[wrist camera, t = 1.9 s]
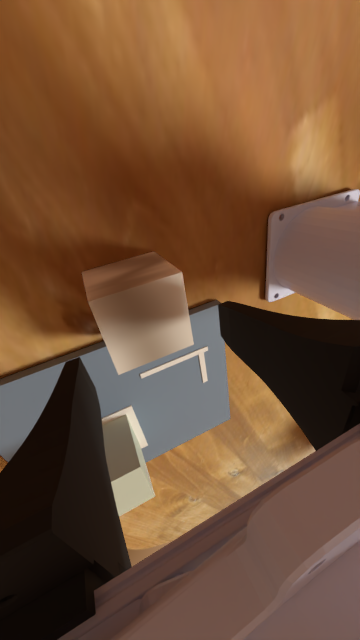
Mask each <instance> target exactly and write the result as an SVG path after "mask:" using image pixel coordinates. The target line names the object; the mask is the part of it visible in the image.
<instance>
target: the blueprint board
mask: <svg viewBox="0 0 360 640" xmlns="http://www.w3.org/2000/svg"><path fill="white" fill-rule="evenodd" d="M219 304H221V303H220V302H219V301H218V300H215V301H212V302H209V303H206V304H204V305H201V306H198V307H196V308H193V309H190V310H188V311H189V317H190V323H191V330H192V336H193V342H194V345H191V346H189V347H187V348H184V349H182V350H179V351H177V352H174V353H172V354H169V355H167V356H164V357H162V358H159V359H157V360H154V361H152V362H150V363H147V364H145V365H142V366H140V367H137V368H135V369H132V370H130V371H127V372H125V373H122V374H120V375H118V373H117V370H116V368H115V365H114V363H113V361H112V358H111V356H110V354H109V351H108V349H107V346H106V344H105V342H104V341H103V342H100V343H97V344H94V345H92V346H89V347H86V348H84V349H81V350H78V351H75V352H73V353H70V354H67V355H64V356H62V357H59V358H56V359H53V360H51V361H48V362H45V363H43V364H40V365H37V366H34V367H32V368H29V369H26V370H23V371H21V372H18V373H15V374H12V375H10V376H7V377H4V378H2V379H0V455H1V456H2V457H3V458H4V459H5V460H6V461H7V462H9V461H10V460H11V458H12V457H13V456H14V454H15V453H16V452H17V450H18V449H19V448H20V446H21V445H22V444H23V442H24V441H25V439H26V438H27V436H28V435H29V433H30V432H31V430H32V429H33V427H34V425H35V424H36V422H37V420H38V419H39V417H40V415H41V413H42V411H43V409H44V408H45V406H46V404H47V402H48V400H49V398H50V396H51V394H52V392H53V390H54V387H55V385H56V383H57V381H58V378H59V376H60V374H61V371H62V369H63V367H64V364H65V363H66V362H67V361H70V360H72V359H75V358H78V357H80V358H81V360H82V362H83V364H84V366H85V368H86V370H87V372H88V374H89V376H90V378H91V380H92V382H93V384H94V386H95V387H96V391H97V395H98V399H99V404H100V409H101V418H102V425H103V424H106V423H108V422H110V421H112V420H114V419H117V418H119V417H121V416H123V415H125V414H126V415H127V417H128V419H129V422H130V424H131V426H132V428H133V430H134V433H135V435H136V437H137V439H138V441H139V444H140V446H141V450H142V453H143V456H144V460H145V463H146V462H148V461H150V460H152V459H154V458H156V457H157V456H159V455H161V454H163V453H165V452H167V451H169V450H171V449H173V448H175V447H177V446H179V445H181V444H183V443H185V442H186V441H188V440H190V439H192V438H194V437H196V436H198V435H200V434H202V433H204V432H206V431H208V430H210V429H212V428H214V427H216V426H217V425H219V424H221V423H223V422H225V421H227V420H229V419H230V408H229V395H228V382H227V369H226V356H225V342H224V340H223V338H222V337H221V334H220V323H219V311H218V305H219Z"/></svg>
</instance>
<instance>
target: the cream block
mask: <svg viewBox="0 0 360 640" xmlns="http://www.w3.org/2000/svg"><path fill="white" fill-rule="evenodd" d="M82 277H83V281H84V286H85V291H86V296H87V300H88V304H89V306H90V308H91V311H92V313H93V315H94V318H95V320H96V323H97V325H98V327H99V330H100V332H101V335H102V337H103V339H104V342H105V344H106V346H107V349H108V351H109V354H110V356H111V358H112V361H113V363H114V365H115V368H116V370H117V373H118V375H120V374H122V373H125V372H127V371H130V370H132V369H135V368H137V367H140V366H142V365H145V364H147V363H150V362H152V361H154V360H157V359H159V358H162V357H164V356H167V355H169V354H172V353H174V352H177V351H179V350H182V349H184V348H187V347H189V346H191V345H194V342H193V336H192V330H191V323H190V317H189V311H188V305H187V299H186V293H185V287H184V280H183V274H182V272H181V271H180V270H179V269H177V268H176V267H175V266H173V265H172V264H171V263H169V262H168V261H167V260H165V259H164V258H163V257H161V256H160V255H158V254H157V253H156V252H154V251H153V252H150V253H146V254H143V255H139V256H136V257H132V258H129V259H125V260H122V261H118V262H115V263H111V264H107V265H104V266H100V267H97V268H93V269H90V270H86V271H83V272H82Z"/></svg>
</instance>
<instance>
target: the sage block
mask: <svg viewBox="0 0 360 640" xmlns="http://www.w3.org/2000/svg"><path fill="white" fill-rule="evenodd" d="M102 428H103V437H104V447H105V455H106V461H107V466H108V471H109V475H110V480H111V485H112V489H113V493H114V498H115V502H116V507H117V511H118V515H119V516H121V515H123V514H125V513H126V512H128V511H130V510H132V509H134V508H135V507H137V506H139V505H141V504H143V503H144V502H146V501H148V500H150V499H151V498H153V497H155V493H154V490H153V487H152V483H151V480H150V477H149V473H148V470H147V467H146V463H145V460H144V456H143V453H142V450H141V446H140V444H139V441H138V439H137V437H136V435H135V433H134V430H133V428H132V426H131V424H130V422H129V419H128V417H127V415H126V414H125V415H123V416H121V417H119V418H117V419H114V420H112V421H110V422H108V423H106V424H103V425H102Z"/></svg>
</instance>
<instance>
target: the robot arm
mask: <svg viewBox="0 0 360 640" xmlns="http://www.w3.org/2000/svg"><path fill="white" fill-rule="evenodd" d="M359 195H360V192H359V190H358V189H352V190H349V191H345V192H341V193H338V194H334V195H331V196H327V197H323V198H320V199H316V200H313V201H309V202H306V203H302V204H298V205H295V206H291V207H288V208H284V209H281V210H277V211H274V212H272V213H271V214H270V215H269V219H268V241H267V268H266V295H265V299H266V301H268V302H273V301H275V300H278V299H280V298H283V297H285V296H288V295H291V294H293V293H298V294H300V295H302V296H304V297H306V298H309V299H311V300H313V301H315V302H317V303H319V304H322V305H324V306H326V307H328V308H330V309H332V310H334V311H337V312H339V313H341V314H343V315H345V316H347V317H350V318H352V319H354V320H329V319H315V318H306V317H298V316H291V315H286V314H281V313H276V312H271V311H267V310H263V309H259V308H255V307H251V306H247V305H244V304H240V303H236V302H231V301H227V302H224V303H221V304H219V305H218V311H219V323H220V334H221V337H222V338H223V340H224V341H225V342H226V344H227V345H228V346H229V347H230V349H231V350H232V351H233V352H234V353H235V354H236V355H237V356H238V357H239V358H240V359H241V360H242V361H243V362H244V363H245V364H247V365H248V366H249V367H250V368H251V369H252V370H253V371H254V372H255V373H256V374H257V375H258V376H259V377H260V378H261V379H262V380H263V381H264V382H265V383H266V385H267V386H268V387H269V388H270V389H271V391H272V392H273V393H274V394H275V395H276V397H277V398H278V399H279V400H280V402H281V403H282V404H283V406H284V407H285V408H286V409H287V411H288V412H289V413H290V415H291V416H292V417H293V419H294V420H295V421H296V423H297V424H298V425H299V427H300V428H301V430H302V431H303V432H304V434H305V435H306V437H307V438H308V440H309V441H310V443H311V444H312V445H313V447H314V448H315V450H316V451H315V452H314V453H312V454H310V455H309V456H307V457H306V458H304V459H303V460H301V461H299V462H298V463H296V464H295V465H293V466H291V467H290V468H288V469H287V470H285V471H283V472H282V473H280V474H279V475H277V476H276V477H274V478H272V479H271V480H269V481H268V482H266V483H264V484H263V485H261V486H260V487H258V488H256V489H255V490H253V491H252V492H250V493H249V494H247V495H245V496H244V497H242V498H241V499H239V500H237V501H236V502H234V503H233V504H231V505H229V506H228V507H226V508H225V509H223V510H222V511H220V512H218V513H217V514H215V515H214V516H212V517H210V518H209V519H207V520H206V521H204V522H202V523H201V524H199V525H198V526H196V527H195V528H193V529H191V530H190V531H188V532H187V533H185V534H183V535H182V536H180V537H179V538H177V539H175V540H174V541H172V542H171V543H169V544H168V545H166V546H164V547H163V548H161V549H160V550H158V551H156V552H155V553H153V554H152V555H150V556H148V557H147V558H145V559H144V560H142V561H140V562H139V563H137V564H136V565H134V566H133V567H131V563H130V559H129V555H128V551H127V547H126V543H125V539H124V536H123V531H122V527H121V523H120V519H119V515H118V511H117V507H116V502H115V498H114V493H113V489H112V485H111V480H110V475H109V471H108V466H107V461H106V455H105V447H104V437H103V428H102V418H101V409H100V404H99V399H98V395H97V391H96V387H95V386H94V384H93V382H92V380H91V378H90V376H89V374H88V372H87V370H86V368H85V366H84V364H83V362H82V360H81V358H80V357H78V358H75V359H72V360H70V361H67V362H66V363H65V364H64V367H63V369H62V371H61V374H60V376H59V378H58V381H57V383H56V385H55V387H54V390H53V392H52V394H51V396H50V398H49V400H48V402H47V404H46V406H45V408H44V409H43V411H42V413H41V415H40V417H39V419H38V420H37V422H36V424H35V425H34V427H33V429H32V430H31V432H30V433H29V435H28V436H27V438H26V439H25V441H24V442H23V444H22V445H21V446H20V448H19V449H18V450H17V452H16V453H15V454H14V456H13V457H12V458H11V460H10V461H9V462H8V464H7V465H6V466H5V468H4V469H3V470H2V471H1V473H0V640H360V202H358V199H359ZM280 215H281V217H280V219H279V216H280ZM275 294H276V295H275Z"/></svg>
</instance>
